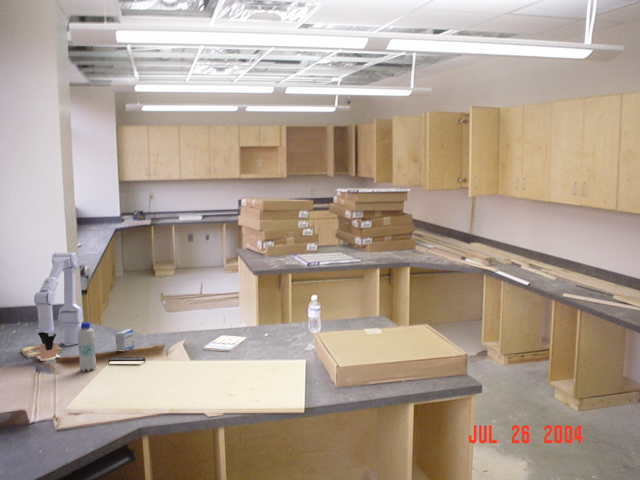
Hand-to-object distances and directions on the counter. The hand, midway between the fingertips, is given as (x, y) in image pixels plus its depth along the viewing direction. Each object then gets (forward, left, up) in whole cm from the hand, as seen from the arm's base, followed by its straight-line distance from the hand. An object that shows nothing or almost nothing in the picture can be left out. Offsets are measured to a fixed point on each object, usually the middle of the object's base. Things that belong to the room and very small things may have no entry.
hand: (48, 348), depth 246 cm
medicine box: (-30, +11, -4) cm, 32 cm away
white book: (-68, +36, -5) cm, 77 cm away
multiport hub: (-23, +30, -5) cm, 39 cm away
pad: (0, 0, -4) cm, 4 cm away
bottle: (-8, +28, -4) cm, 29 cm away
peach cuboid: (0, 0, -4) cm, 4 cm away
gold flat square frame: (0, -12, -4) cm, 13 cm away
